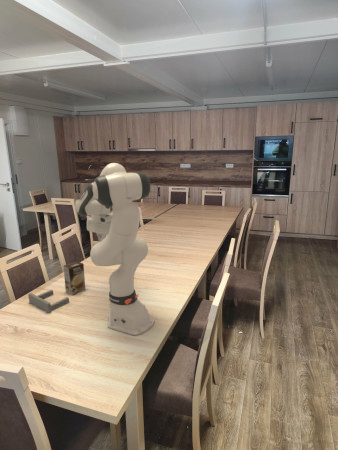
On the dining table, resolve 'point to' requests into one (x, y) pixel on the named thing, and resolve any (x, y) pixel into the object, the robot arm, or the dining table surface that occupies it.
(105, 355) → the dining table surface
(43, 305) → the grey u-shaped bracket
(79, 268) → the coffee box
